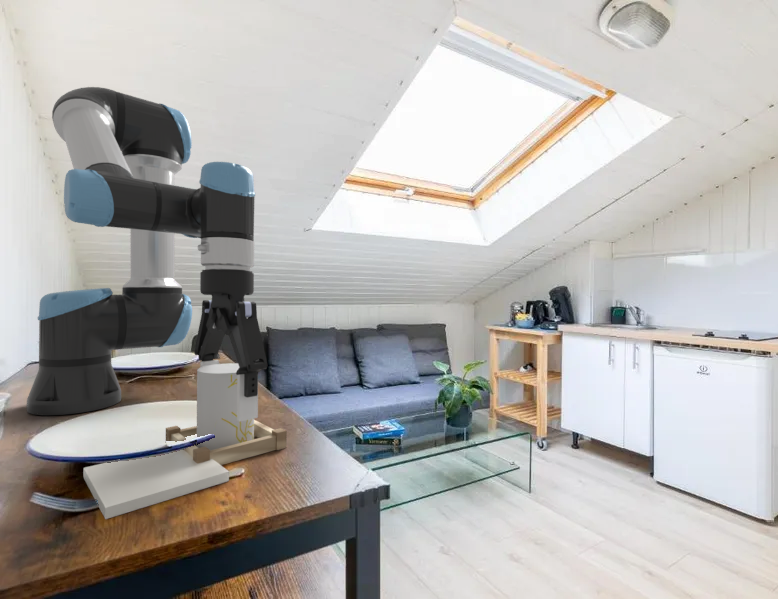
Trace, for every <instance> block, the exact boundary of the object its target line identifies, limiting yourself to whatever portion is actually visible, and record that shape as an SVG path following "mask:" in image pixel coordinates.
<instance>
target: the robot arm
mask: <svg viewBox="0 0 778 599" xmlns="http://www.w3.org/2000/svg"><path fill="white" fill-rule="evenodd" d="M51 118H52V123H53V126H54V128H55V131H56V133H57V134H58V136H59V137H60V138H61V139H62V140H63V141H64V142H65V144H66V147H67V150H68V155H69V156H70V157H69V158H70V162H71V164H72V167H73V168H72V169H70V170H68V171H67V172H66V174H65V177H64V178H65V179H64V185H63V186H64V187H63V204H64V213H65V214H64V215H65V216H66V218H67V219H69V221H71V222H74V223H78V224H83V225H84V224H85V225H91V226H92V225H93V226H95V227H98V228H99V227H100V228H104V227H108V228H117V229H118V228H119V229H129V230H130V232H129V233H130V235H129V236H130V241H129V242H130V278H129V280H128V281H127V282H125V284H123V285H122V288H121V290H122V294H113V293H114V292H113V291H112V289H111V287H99V288H89V289H87V288H86V289H77V290H76V289H74V290H69V291H68V290H66V291H58V292H51V293H47V294H44V295H43V296H42V297H41V299H39V307H38V308H39V310H38V316H37V320H38V323H39V327H38V328H39V329H38V332H39V333H38V334H39V335H38V371H37V374H36V375H35V376H36V377H34V378H35V379H34V380H33V383H32V386H31V389H30V391H29V393H28V396H27V399H26V412H27V413H29V414H32V415H37V416H38V415H39V416H59V415H60V416H62V415H63V416H64V415H72V414H81V413H82V414H83V413H87V412H88V413H89V412H93V411H96V410H98V411H99V410H101V409H106V408H109V407H112V406H115V405H116V404H118V403H120V402H121V400H122V389H121V386H120V382H119V380H118V378H117V375H116V373H115V370H114V368H113V365H112V351H115V350H117V351H118V350H128V349H129V350H130V349H131V350H133V349H145V348H163V347H167V346H176V345H179V344H180V343H182V342H183V341H184V340H185V339H186V337H187V335H188V333H189V331H190V328H191V323H192V318H193V305H192V299H191V297H190V296H189V295H186V294H185V293H183V286H182V285H181V284H180V283H179V282H178V281H176V279H175V277H176V276H175V274H176V270H175V269H176V268H175V265H176V264H175V263H176V262H175V260H176V259H175V258H176V257H175V253H176V252H175V251H176V250H175V248H176V247H175V242H176V240H175V239H176V238H175V234H179V235H182V236H184V237H188V238H191V239H200V244H198V245H197V251H199V252H200V265H201V266H202V267H204V269H202V270H201V271H200V280H199V281H200V287H199V289H200V290H199V291H200V294H202V295H204V296H207V295H208V296H211V300H210V299H206V300H205V299H203V300H202V302H201V314H200V315H201V316H200V319H199V325H198V331H197V336H196V341H195V346H194V355H195V356H198V360H199V361H200V363H199V366H200V367H203V366H208V365H214V364H220V360H218V359H221V356H220V354H219V351H220V349H221V346H222V343H223V341H224V337H225V335H226V336H228V337H229V340H230V344H231V346H232V349H233V353H234V355H235V357H236V361H237V363H238V364H239V367H240V368H238V370H237V372H236V374H237V421H239V422H240V421H244V420H249V419H254V420H255V419H257V418H259V373H261V371H263V370H267V368H268V360H267V356H266V351H265V347H264V343H263V337H262V334H261V329H260V324H259V322H258V321H259V320H258V314H257V302H256V301H245V296H251V295H253V294H254V291H255V285H254V284H255V282H254V280H255V279H254V278H255V276H254V275H255V274H254V272H253V271H251V269H252V268H253V267H254V266H255V241H254V234H255V232H254V230H255V197H256V192H255V183H254V181H255V180H254V174H253V172H252V171H251V170H250V168H248V167H247V166H244V165H241V164H240V163H239V164H238V163H234V162H229V161H228V162H227V161H211V162H207V163H205V164H204V165H202V166H201V169H200V170H201V172H200V177H199V178H200V179H199V181H198V183H199V184H200V187H199V188H191V187H185V186H179V185H175V176H176V174H177V173H178V172H180V171H181V170H182V168H183V166H182V165H183V164H186V163H188V161H189V159H190V157H191V154H192V152H191V149H192V146H193V145H192V143H193V142H192V141H193V140H192V132H191V127H190V125H189V121H188V119H187V118H186V116H185V115H184V113H182V112H181V111H180V110H178V109H176V108H173V107H169V106H167V105H165V104H164V103H157V102H153V101H151V100H147V99H143V98H141V97H136V96H133V95H129V94H127V93H123V92H119V91H115V90H113V89H110V88H106V87H99V86H87V87H85V86H84V87H80V88H75V89H73V90H71V91H68V92H66V93H64V94H63V95H61V96H60V97H59V98H58V99H57V100H56V101H55V103H54V104H53V108H52V113H51ZM200 367H199V368H200Z"/></svg>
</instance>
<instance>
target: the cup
mask: <svg viewBox="0 0 778 599" xmlns="http://www.w3.org/2000/svg"><path fill="white" fill-rule="evenodd" d="M238 368H240V367H239V364H238V362H236V363H231V362H229V363H219V364H214V365H208V366H203V367H199V368H197V369H196V373H197V374H196V426H197V437H200V436H205V435H208V434H214V435H215V438H212V439H210V440H209V441H205V442H203V443H200V444H198V445H197V444H196V447H198V448H201V447H207V448H208V449H209V450H214V449H218V448H222V447H226V446H230V445H234V444H238V443H242V442H246V441H250V440H254V439H255V436H254V420H255V418H254V419H249V420H244V421H240V422H239V421H237V374H236V372H237V370H238Z"/></svg>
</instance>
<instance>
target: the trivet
mask: <svg viewBox="0 0 778 599" xmlns="http://www.w3.org/2000/svg"><path fill="white" fill-rule="evenodd" d="M110 462H111V461H110ZM82 468H83V472H82V473H83V480H84V481H85V484H86V485H87V487H88V489H89V490H90V493H91V495H92V496H93V500H95V499H97V500H98V504H99V506H98V508H99V510H100V512H101V513H102V515H103V517H104V519H105V520H108V519H110V518H114V517H118V516H120V515H124V514H127V513H129V512H133V511H136V510H140V509H143V508H146V507H150V506H152V505H156V504H159V503H162V502H165V501H168V500H169V501H170V500H172V499H175V498H179V497H182V496H184V495H188V494H191V493H195V492H198V491H201V490H204V489H207V488H210V487H214V486H216V485H221V484H224V483H227V482H229V481H230V471H229V470H228V469H227V468H225V467H224V466H223V465H220V464H219V463H217V462H216V461H215V460H213V459H210V460H209V461H205V462H202V463H198V464H197V463H196V462H195V461H194V460H193V457H192V456H191V455H189V454H188V453H187V452H186V451H185V450H180V451H177V452H173V453H169V454H165V455H161V456H156V457H149V458H142V459H136V460H129V461H118V462H111V463H107V462H104V463H98V464H94V465H90V466H85V467H82ZM98 504H97V505H98Z"/></svg>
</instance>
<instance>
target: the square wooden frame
mask: <svg viewBox="0 0 778 599" xmlns="http://www.w3.org/2000/svg"><path fill="white" fill-rule="evenodd" d="M287 433H288V431H287V430H286V429H284V428H281V427H280V428H276V429H274V428H272V427H270V426H268V425H266V424H263V423H261V422H260V421H258V420H255V419H254V440H250V441H246V442H242V443H238V444H234V445H230V446H226V447H222V448H218V449H214V450H209V449H208V448H207V447H201V448H198V447H197V445H195V444H194V446H191V447H188V448H186V449H184V450H185V451H186V452H187V453H188V454H189V455H191V456H192V457H193V460H194V461H195V462H196V463H197V464H198V463H202V462H205V461H209V460H210V459H213V460H215V461H216V462H217V463H219V464H220V465H221V466H223V465H226V464H230V463H234V462H238V461H241V460H244V459H247V458H252V457H255V456H258V455H262V454H265V453H266V454H267V453H269V452H272V451H280V450H284V449H286V448H287V435H288V434H287ZM195 434H197V425H195V426H189V427H186V428H181V427H179V426H178V425H173V426H168V427H165V442H166V441H175V442H177V441H184V440H186V438H185V437H187V436H191V435H195Z"/></svg>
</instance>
